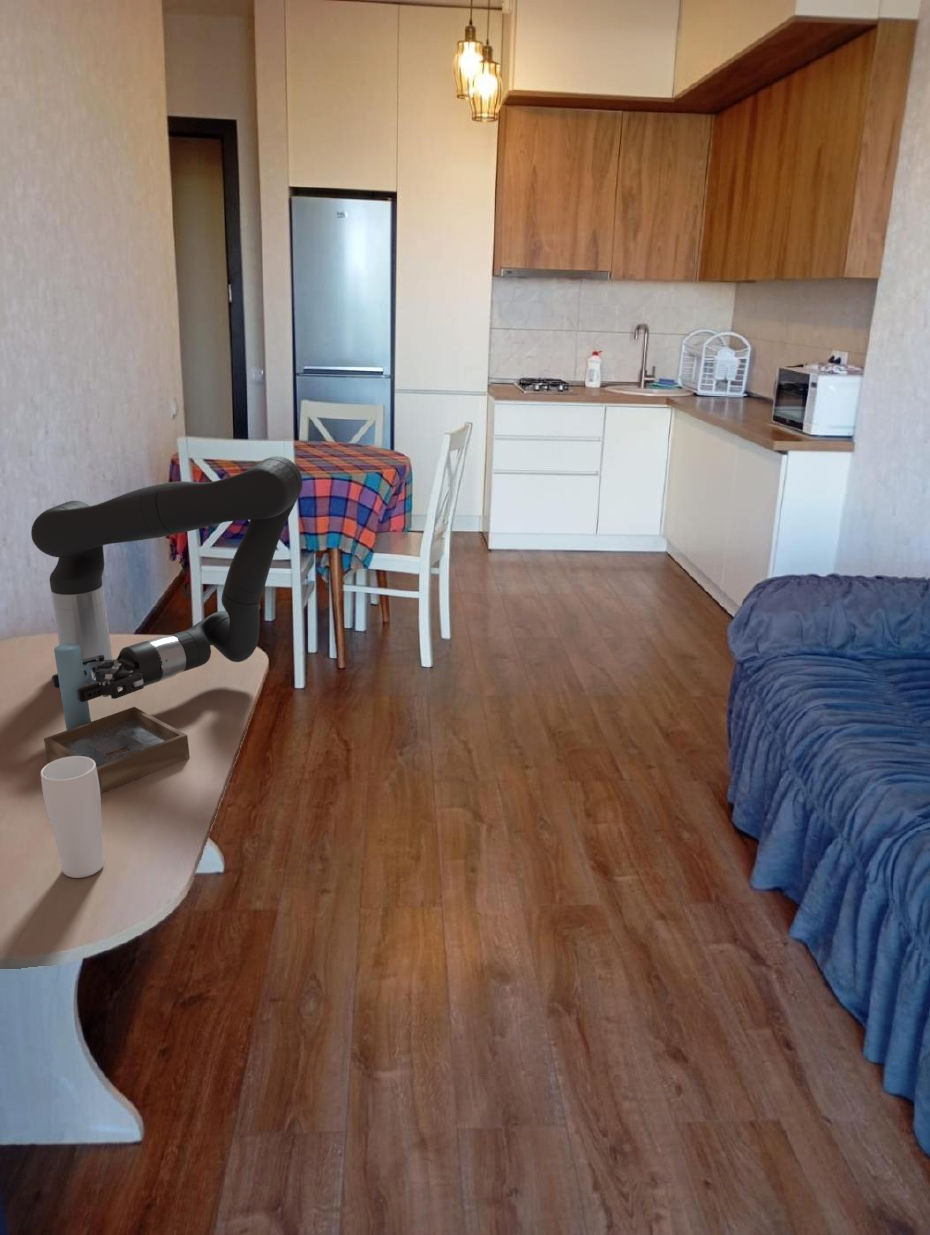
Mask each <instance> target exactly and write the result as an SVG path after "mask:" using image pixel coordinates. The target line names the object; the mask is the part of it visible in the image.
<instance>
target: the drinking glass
mask: <svg viewBox="0 0 930 1235" xmlns="http://www.w3.org/2000/svg"><path fill="white" fill-rule="evenodd" d="M40 780H41V783H40V784H41V789H42V796H43V800H44V804H45V809H46V813H47V816H48V820H49V823H50V827H51V830H52V833H53V837H54V841H55V845H56V849H57V854H58V857H59V861H60V865H61V866H60V868H61V870H62V873H63V874H64V875H65V876H67V877H69V878H73V879H83V878H86V877H87V878H88V877H90V876H93V875H94V874H97V873H98V872H99V871H101V869H103V867H104V865H105V854H104V853H105V852H104V844H103V842H104V841H103V840H104V839H103V824H102V820H103V819H102V800H101V794H100V785H99V778H98V773H97V768H96V763H95V761H94V760H93V759H91V758H88V757H84V756H71V757H65V758H61V759H57V760H55V761H52V762H48V763H47V764H46V765H45V766H44V767H43V768H42V769H41V770H40Z"/></svg>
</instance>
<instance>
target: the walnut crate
mask: <svg viewBox="0 0 930 1235" xmlns="http://www.w3.org/2000/svg"><path fill="white" fill-rule="evenodd" d="M131 718H135V719H137V720H139V721H141V722H143V723H144V724H146V725H148V726H150V727H152V728H154V729H155V730H157V731H159V732H161V733H163V734H165V735H166V736H168V737H170V738H172V739H169V740H166V741H164V742H161V743H159V744H156V745H153V746H151V747H148V748H146V749H143V750H140V751H138V752H135V753H133V754H130V755H128V756H125V757H122V758H120V759H117V760H115V761H112V762H109V763H107V764H104V765H102V766H99V767H96V768H97V773H98V778H99V785H100V795H101V794H103V793H105V792H107V791H108V792H109V791H110V790H113V789H115V788H117V787H120V786H122V785H125V784H127V783H131V782H132V781H135V780H138V779H140V778H142V777H144V776H147V775H149V774H150V775H151V774H152V773H155V772H156V771H159V770H162V769H164V768H166V767H167V768H168V767H169V766H172V765H174V764H176V763H179V762H181V761H182V762H183V761H184V760H186V759H189V758H190V748H189V740H188V739H189V737H188V734H187V733H185V732H182V731H181V730H179V729H177V728H175V727H173V726H171V725H169V724H168V723H166V722H164V721H162V720H160V719H158V718H156V717H154V716H152V715H151V714H149V713H147V712H146V711H143V710H141V709H139V708H138V707H136V706H132V707H130V708H127V709H124V710H121V711H118V712H116V713H115V712H114V713H112V714H110V715H107V716H103V717H101V718H99V719H95V720H91V722H89V723H86V724H84V725H81V726H78V727H75V728H72V729H69V730H64V731H61V732H59V733H56V734H53V735H50V736H47V737H43V743H44V748H45V755H46V760H47V762H48V763H50V762H52V761H55V760H57V759H61V758H65V757H71V756H78V755H76V754H75V753H73V752H72V751H70V750H68V749H67V748H65V747H64V746H62V745H61V743H64V742H67V741H70V740H73V739H75V738H78V737H81V736H84V735H86V734H89V733H92V732H95V731H98V730H100V729H103V728H106V727H109V726H112V725H114V724H117V723H120V722H123V721H125V720H128V719H131Z"/></svg>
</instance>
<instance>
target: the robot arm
mask: <svg viewBox="0 0 930 1235" xmlns="http://www.w3.org/2000/svg"><path fill="white" fill-rule="evenodd" d="M302 490H303V477H302V474H301V471H300V469H299V467H298V466H297V465H296V464H295V463H294V462H293V461H292V460H291V459H289V458H287V457H284V456H271V457H268V458H265V459H263V460H262V461H259V462H257V463H256V464H255V465H254V466H252V467H251V468H248V469H247V470H245V471H243V472H240V473H237V474H235V475H232V476H228V477H225V478H221V479H218V480H214V481H209V482H198V481H197V482H195V481H185V480H184V481H182V480H180V481H179V480H178V481H170V482H169V481H168V482H163V483H161V484H155V485H154V484H153V485H149V486H145V487H142V488H139V489H135V490H131V491H130V492H127V493H123V494H121V495H119V496H116V497H113V498H111V499H108V500H106V501H102V502H101V503H97V504H94V505H89V504H88V503H86V502H84V501H80V500H70V501H66V502H63V503H60V504H58V505H56V506H54V507H51V508H48V509H46V510H44V511H43V512H42V513H40V514H39V515H38V516H37V517H36V518H35V520H34V521H33V523H32V526H31V529H30V530H31V540H32V541H33V544H34V545H35V547H36V548H37V549H39V551H41V552H42V553H43V554H45V555H47V556H51V557H54V558H58V560H57V563H56V565H55V568H53V570H52V572H51V573H50V575H49V587H50V593H51V600H52V606H53V612H54V618H55V625H56V632H57V639H58V646H59V645H62V644H68V643H75V644H79V645H80V649H81V656H82V663H83V670H84V677H85V682H87V683H89V685H86V687H83V688H80V689H78V690H77V696H78V700H79V701H80V702H85V701H88V702H89V701H91V700H94V699H96V698H99V697H103V698H106V697H107V698H108V697H111V699H112V700H113V699H114V700H116V699H118V698H122V697H124V696H126V695H129V694H132V693H135V692H137V691H140V690H143V689H144V688H145V687H147V686H149V685H152V684H157V683H159V682H162V681H164V680H168V679H171V678H173V677H175V676H176V675H179V674H181V673H183V672H187V671H189V670H190V671H191V670H193V669H195V668H200V667H201V666H204V665H205V664H206V663H208V662H209V661H210V658H211V655H212V649H211V646H213V647H214V648H215V649H216V650H217V651H218V652H219V653H221V655H222V656H223V657H225V658H226V659H227V660H229V661H230V662H234V663H241V662H244V661H246V660H248V659H249V658H250V657H251V656H252V655H253V653H254V652H255V651H256V649H257V647H258V643H259V638H260V604H261V601H262V598H263V595H264V594H263V593H264V590H265V587H266V583H267V580H268V578H269V577H268V576H269V573H270V569H271V566H272V563H273V560H274V557H275V556H274V555H275V552H276V550H277V546H278V543H279V542H280V539H281V536H282V533H283V530H284V528H285V526H286V524H287V521H288V519H289V517H290V515H291V513H292V511H293V509H294V507H295V505H296V503H297V501H298V499H299V497H300V495H301V493H302ZM248 520H249V522H248V524H247V528H246V530H245V532H244V534H243V537H242V539H241V541H240V543H239V545H238V546H237V549H236V552H235V554H234V556H233V558H232V560H231V562H230V566H229V569H228V572H227V575H226V578H225V582H224V586H223V590H222V594H221V604H222V607H223V608H224V610H223V611H221V610H220V611H216V612H213V613H211V614H209V615H208V616H206V617H205V618H204V619H202V620H200V621H199V622H198V623H196V624H194V625H193V626H192V627H190V628H188V629H186V630H181V631H180V632H177V633H176V632H175V633H173V634H170V635H164V636H159V637H155V638H150V639H147V640H146V641H144V640H143V641H141V642H138V643H135V644H131V645H128V646H124V647H123V648H122V649H120V651H119V653H118V655H117V657H116V659H114V658H113V652H112V644H111V643H112V642H111V637H110V630H109V621H108V615H107V608H106V607H107V606H106V601H105V600H106V599H105V593H104V586H103V585H104V584H103V574H104V570H105V554H104V553H105V552H104V546H106V545H110V544H119V543H121V544H122V543H129V542H137V541H143V540H149V539H151V540H152V539H158V538H159V539H160V538H164V537H168V536H174V535H179V534H184V533H187V532H191V531H195V530H200V529H204V528H207V527H210V526H213V525H216V524H221V523H228V522H236V521H237V522H238V521H248ZM51 681H52V686H53V687H54V688H55V689H60V685H59V679H58V673H55V674H53V675H52V676H51ZM120 689H122V690H120Z"/></svg>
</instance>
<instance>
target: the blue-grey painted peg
mask: <svg viewBox="0 0 930 1235" xmlns="http://www.w3.org/2000/svg"><path fill="white" fill-rule="evenodd" d="M53 651H54V653H53V654H54V658H55V665H56V671H57V672H56V673H57V674H58V679H59V685H60V687H59V691H60V696H61V703H62V709H63V716H64V723H65V729H66V730H65V731H67V730H69V729H72V728H75V727H78V726H81V725H84V724H86V723H89V722H92V719H91V713H90V706H89V700H88V701H85V702H80V701H79V700H78V696H77V690H78V689H80V688H83V687H86V686H87V685H86V681H85V677H84V670H83V663H82V656H81V649H80V645H79V644H75V643H68V644H62V645H59V644H58V645H57V646H55V647H54V648H53Z"/></svg>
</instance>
